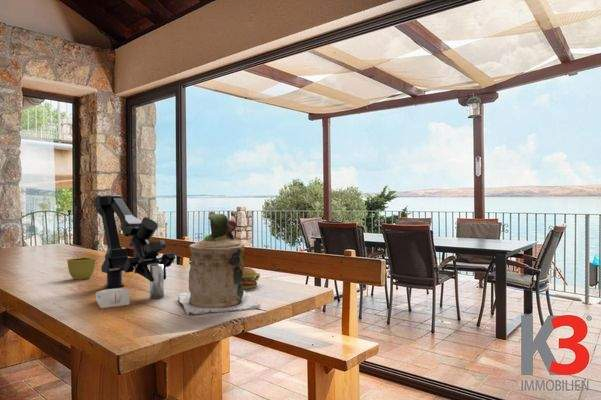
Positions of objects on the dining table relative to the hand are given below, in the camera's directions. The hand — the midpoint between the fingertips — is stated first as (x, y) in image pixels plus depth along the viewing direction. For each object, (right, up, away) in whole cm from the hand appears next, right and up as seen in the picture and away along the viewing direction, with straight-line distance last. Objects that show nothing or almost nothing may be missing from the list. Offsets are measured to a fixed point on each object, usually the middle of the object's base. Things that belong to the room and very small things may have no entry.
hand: (159, 280), depth 152 cm
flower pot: (-48, -7, +37) cm, 61 cm away
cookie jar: (+23, -7, -8) cm, 25 cm away
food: (+28, -7, +20) cm, 35 cm away
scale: (-14, -7, -6) cm, 17 cm away
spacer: (-1, -7, +1) cm, 7 cm away
